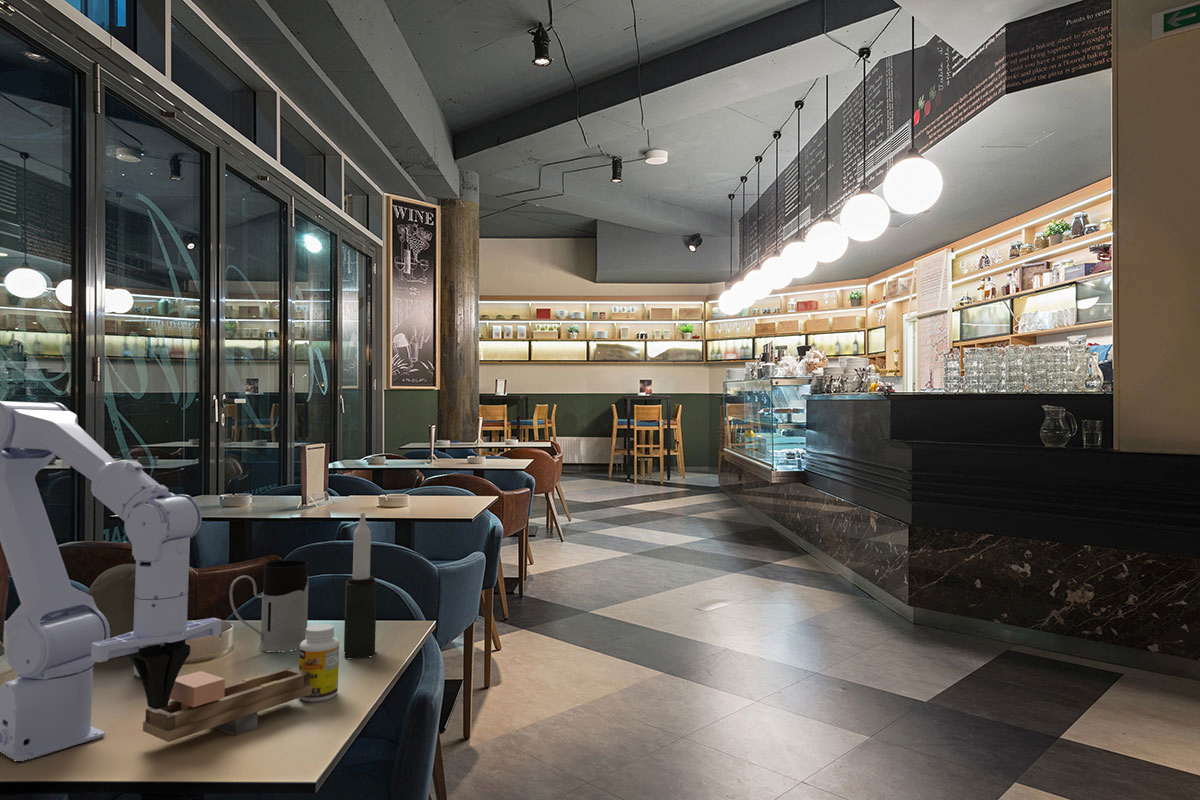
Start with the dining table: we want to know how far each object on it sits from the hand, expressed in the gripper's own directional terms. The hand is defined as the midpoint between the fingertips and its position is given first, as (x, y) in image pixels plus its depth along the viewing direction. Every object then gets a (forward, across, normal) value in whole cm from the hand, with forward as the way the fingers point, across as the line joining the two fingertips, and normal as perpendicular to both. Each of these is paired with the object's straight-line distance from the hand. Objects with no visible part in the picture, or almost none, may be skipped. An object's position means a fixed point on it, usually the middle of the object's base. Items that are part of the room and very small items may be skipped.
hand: (157, 706), depth 91 cm
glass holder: (+6, +34, +28) cm, 44 cm away
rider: (+2, +5, 0) cm, 5 cm away
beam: (+6, +10, 0) cm, 11 cm away
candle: (+6, +41, +12) cm, 43 cm away
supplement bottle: (+6, +23, 0) cm, 24 cm away
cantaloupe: (+6, +20, +49) cm, 53 cm away
